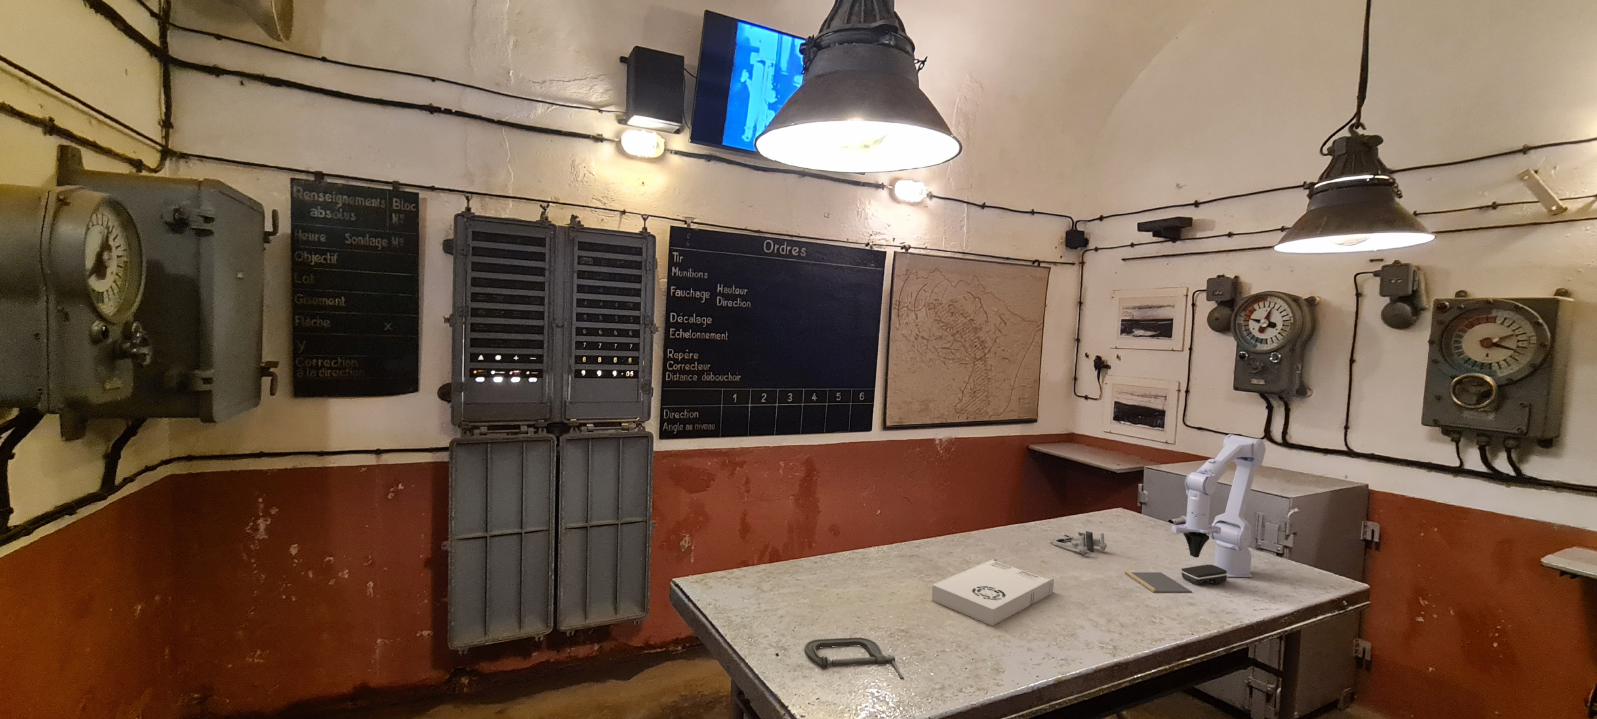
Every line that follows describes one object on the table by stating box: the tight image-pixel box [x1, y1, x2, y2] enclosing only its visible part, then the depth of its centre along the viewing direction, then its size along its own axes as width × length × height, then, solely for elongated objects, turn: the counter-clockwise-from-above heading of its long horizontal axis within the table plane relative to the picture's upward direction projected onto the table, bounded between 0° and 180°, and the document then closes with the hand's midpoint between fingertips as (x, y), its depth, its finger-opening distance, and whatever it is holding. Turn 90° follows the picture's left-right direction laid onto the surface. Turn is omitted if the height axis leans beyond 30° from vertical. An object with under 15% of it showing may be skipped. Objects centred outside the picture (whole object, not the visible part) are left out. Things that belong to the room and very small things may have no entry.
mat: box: [1124, 570, 1193, 594], centre depth 197 cm, size 12×14×1 cm
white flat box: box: [931, 558, 1055, 627], centre depth 183 cm, size 19×33×5 cm, turn 132°
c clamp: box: [804, 637, 905, 680], centre depth 147 cm, size 20×17×3 cm
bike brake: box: [1049, 530, 1108, 555], centre depth 227 cm, size 14×7×20 cm
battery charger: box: [1180, 564, 1228, 585], centre depth 200 cm, size 7×4×11 cm
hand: (1194, 556), depth 198 cm, fingers closed
